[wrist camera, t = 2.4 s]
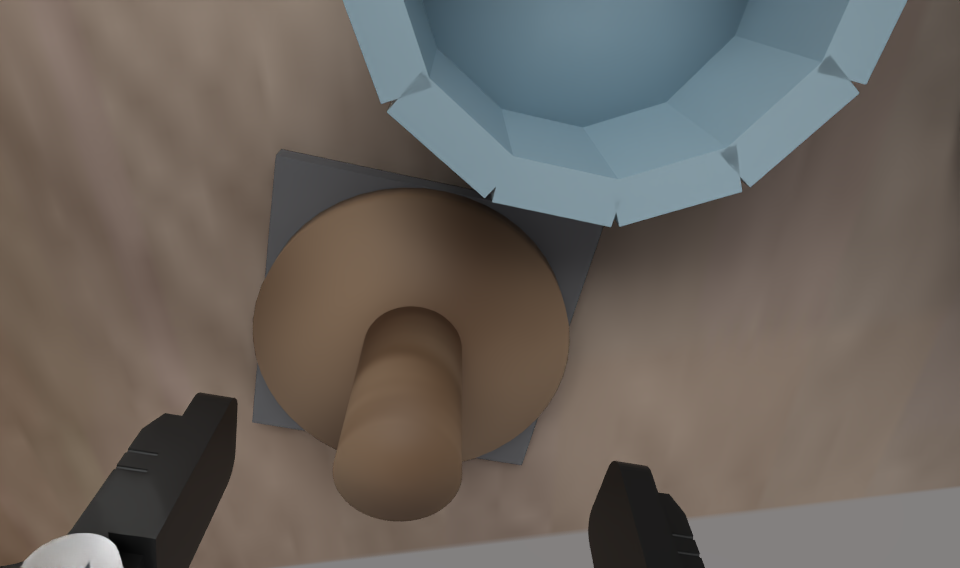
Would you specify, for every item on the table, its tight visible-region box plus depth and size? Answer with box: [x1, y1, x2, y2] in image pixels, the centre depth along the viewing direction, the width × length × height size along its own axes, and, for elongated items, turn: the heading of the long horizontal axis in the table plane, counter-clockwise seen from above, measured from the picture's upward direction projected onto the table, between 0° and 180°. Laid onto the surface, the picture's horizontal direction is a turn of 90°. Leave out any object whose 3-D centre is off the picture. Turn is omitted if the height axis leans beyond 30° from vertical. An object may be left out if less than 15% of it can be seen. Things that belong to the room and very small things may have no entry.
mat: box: [252, 149, 603, 465], centre depth 20 cm, size 9×9×1 cm
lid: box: [253, 188, 570, 521], centre depth 17 cm, size 9×9×6 cm
